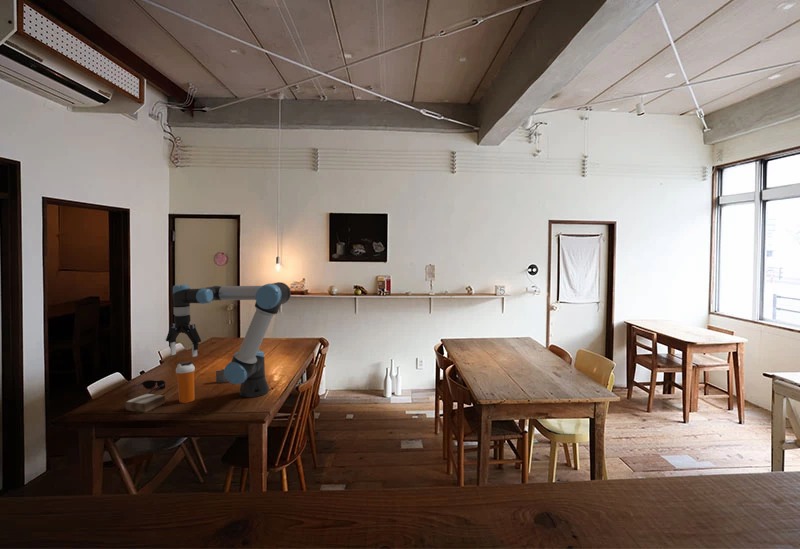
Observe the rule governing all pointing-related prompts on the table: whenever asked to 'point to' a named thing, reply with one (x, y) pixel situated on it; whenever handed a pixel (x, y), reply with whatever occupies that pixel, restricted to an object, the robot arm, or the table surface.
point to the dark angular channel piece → (220, 376)
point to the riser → (145, 402)
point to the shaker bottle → (185, 381)
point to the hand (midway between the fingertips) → (184, 355)
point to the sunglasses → (151, 385)
